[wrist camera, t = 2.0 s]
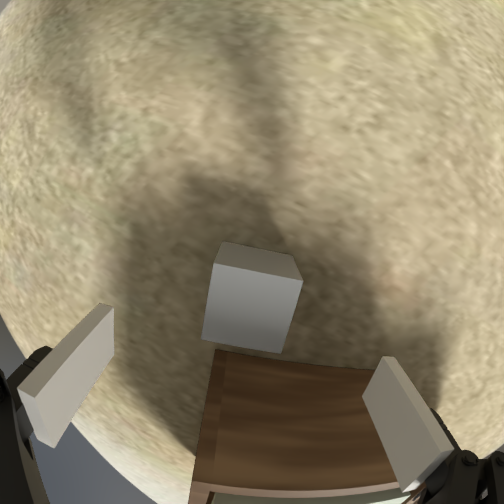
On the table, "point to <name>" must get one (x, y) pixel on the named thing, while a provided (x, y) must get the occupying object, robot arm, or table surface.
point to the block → (251, 298)
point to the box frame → (288, 433)
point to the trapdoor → (319, 498)
